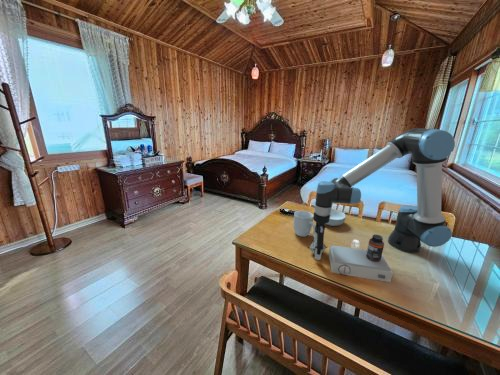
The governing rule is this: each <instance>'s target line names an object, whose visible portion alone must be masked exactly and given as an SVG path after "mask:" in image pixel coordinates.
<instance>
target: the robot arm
mask: <svg viewBox="0 0 500 375" xmlns="http://www.w3.org/2000/svg"><path fill="white" fill-rule="evenodd" d="M455 147H456V141H455V138H454V137H453V135H452V133H450V132H448V131H446V130H443V129H439V128H422V127H417V128H416V127H415V128H412V129H409V130H406V131H403V132H402V133H400V134H398V135H397V136H395V137H394V138H392V139H391V140H389V141H387V142H386V145H385V146H384V147H382V148H381V149H380V150H378V151H377V152H375V153H374V154H372V155H371V156H369V157H368V158H366V159H365V160H363V161H361V162H360V163H359V164H357V165H356V166H354V167H353V168H352V169H350V170H348V171H347V172H345V173H344V174H342V175H340V176H339V177H333V178H331V179H330V180H329V181H326V180H324V181H322V180H321V181H319V182H318V183H317V187H316V191H315V192H316V194H315V202H314V205H313V208H314V210H313V222H315V226H316V227H315V232H316V233H315V234H314V235H313V236H314V238H313V241H316V240H317V246H315V248H316V251H315V256H314V260H318V261H320V260H322V254H321V253H322V250H323V244H324V238H325V229H326V224H325V223H328V222H329V220H330V214H331V209H333V207H332V206H333V204H334V203H335V204H350V205H352V204H353V205H354V204H355V205H357V204H358V203H360V202H361V199H362V191H361V189H360V188H358V187H354V186H355V185H357V184H358V183H360V182H361V181H363V180H364V179H366V178H368V177H369V176H371V175H372V174H374V173H376V172H377V171H379V170H380V169H382V168H383V167H384V166H386V165H388V164H389V163H391V162H393V161H394V160H396V159H402V158H403V157H404V156H407V155H411V162H412V163H413V164H414V165H415V166H416V204H417V205H413V204H412V205H411V204H409V205H407V204H406V205H405V204H404V205H401V206H400V207H399V209H398V213H397V218H396V221H395V225H394V229H393V231H392V232H391V233H390V235H389V236H388V239H387V242H388V244H389V245H390V246H391V247H393V248H395V249H397V250H399V251H403V252H406V253H413V254H414V253H415V254H416V253H418V252H420V251H421V248H422V243H423V244H425V246H426V245H427V246H428V247H433V248H437V247H441V246H444V245H445V244H447V243H448V242H449V241H450V240H451V239H452V235H453V231H452V229H450V227H448V226H446V225H447V224H446V216H445V215H444V214H442V192H443V191H442V188H443V187H442V185H443V183H442V179H443V176H442V175H443V174H442V173H443V164H444V163H446V162H447V161H448V157H449V156H450V155H451V153H453V151H454V149H455Z"/></svg>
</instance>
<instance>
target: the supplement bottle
mask: <svg viewBox="0 0 500 375" xmlns="http://www.w3.org/2000/svg"><path fill="white" fill-rule="evenodd" d="M383 240H384V238H383V236H382V235H380V234H376V233H375V234H372V237H371V238H370V239H369V240H368V245H367V254H366V257H367V258H368V259H369V260H371V261H375V262H378V261H380V260H381V257H382V254H383V252H384V247H385V242H384V241H383Z"/></svg>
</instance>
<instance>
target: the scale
mask: <svg viewBox="0 0 500 375" xmlns="http://www.w3.org/2000/svg"><path fill="white" fill-rule="evenodd" d="M366 254H367V250H366V249H359V248H355V247H354V248H353V247H348V246H347V247H346V246H340V245H333V244H332V245H331V246H329V249H328V259H329V264H330V271H331V273H333V274H338V275H344V276H350V277H355V278H362V279H368V280H373V281H380V282H387V283H391V282H392V278H393V275H394V272H393V271H392V268H391V267H390V265H389V263H388V261H387V260H386V257H385V256H384V255H383V253H382V257H381V260H380V261H378V262H375V261H371V260H369V259H368V258H367V257H366Z"/></svg>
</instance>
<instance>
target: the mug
mask: <svg viewBox="0 0 500 375" xmlns="http://www.w3.org/2000/svg"><path fill="white" fill-rule="evenodd" d="M313 216H314V213H311V212H309V211H307V210H297V211H294V214H293V229H294V232H295V234H296V236H298V237H303V238H304V237H307V236H315V233H316V232H315V227H316V223H314V219H313ZM312 228H313V232H312V233H311V231H312Z"/></svg>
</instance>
